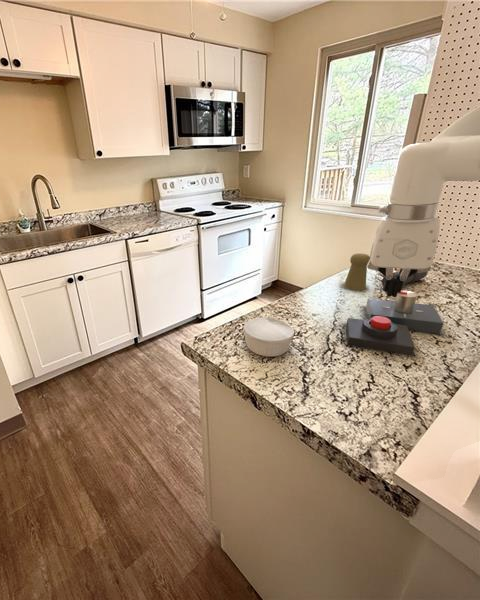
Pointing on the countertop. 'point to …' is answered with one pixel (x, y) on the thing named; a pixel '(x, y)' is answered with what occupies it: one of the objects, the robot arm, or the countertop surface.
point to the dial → (405, 301)
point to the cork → (357, 272)
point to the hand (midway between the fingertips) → (390, 294)
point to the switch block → (379, 336)
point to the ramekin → (268, 336)
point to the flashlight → (410, 279)
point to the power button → (380, 322)
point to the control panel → (407, 315)
